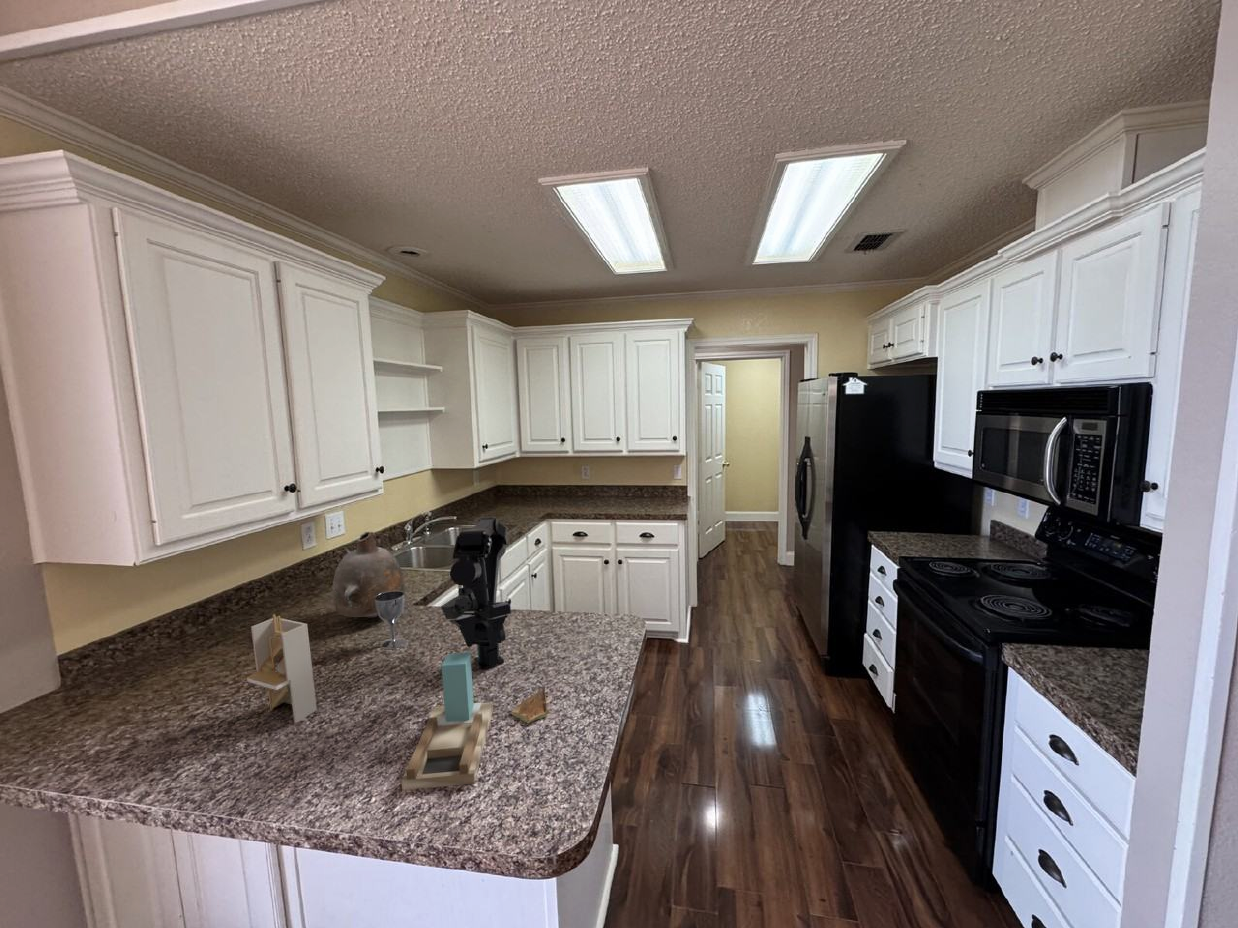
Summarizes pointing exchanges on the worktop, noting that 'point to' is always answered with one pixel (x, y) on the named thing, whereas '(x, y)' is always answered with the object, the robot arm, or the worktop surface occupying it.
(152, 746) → the worktop surface
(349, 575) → the jug
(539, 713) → the shard
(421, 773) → the beige tray
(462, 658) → the tall block
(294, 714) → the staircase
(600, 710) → the worktop surface
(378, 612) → the wine glass
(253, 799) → the worktop surface
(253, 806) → the worktop surface
